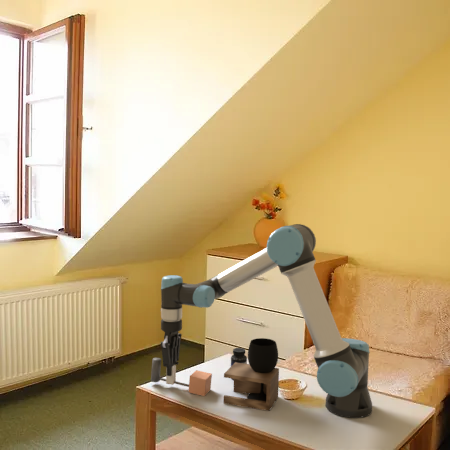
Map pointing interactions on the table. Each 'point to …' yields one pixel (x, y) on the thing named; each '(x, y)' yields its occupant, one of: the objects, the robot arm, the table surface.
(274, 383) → the shelf
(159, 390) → the table surface
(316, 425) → the table surface
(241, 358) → the pill bottle
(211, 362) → the table surface
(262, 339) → the black goblet
